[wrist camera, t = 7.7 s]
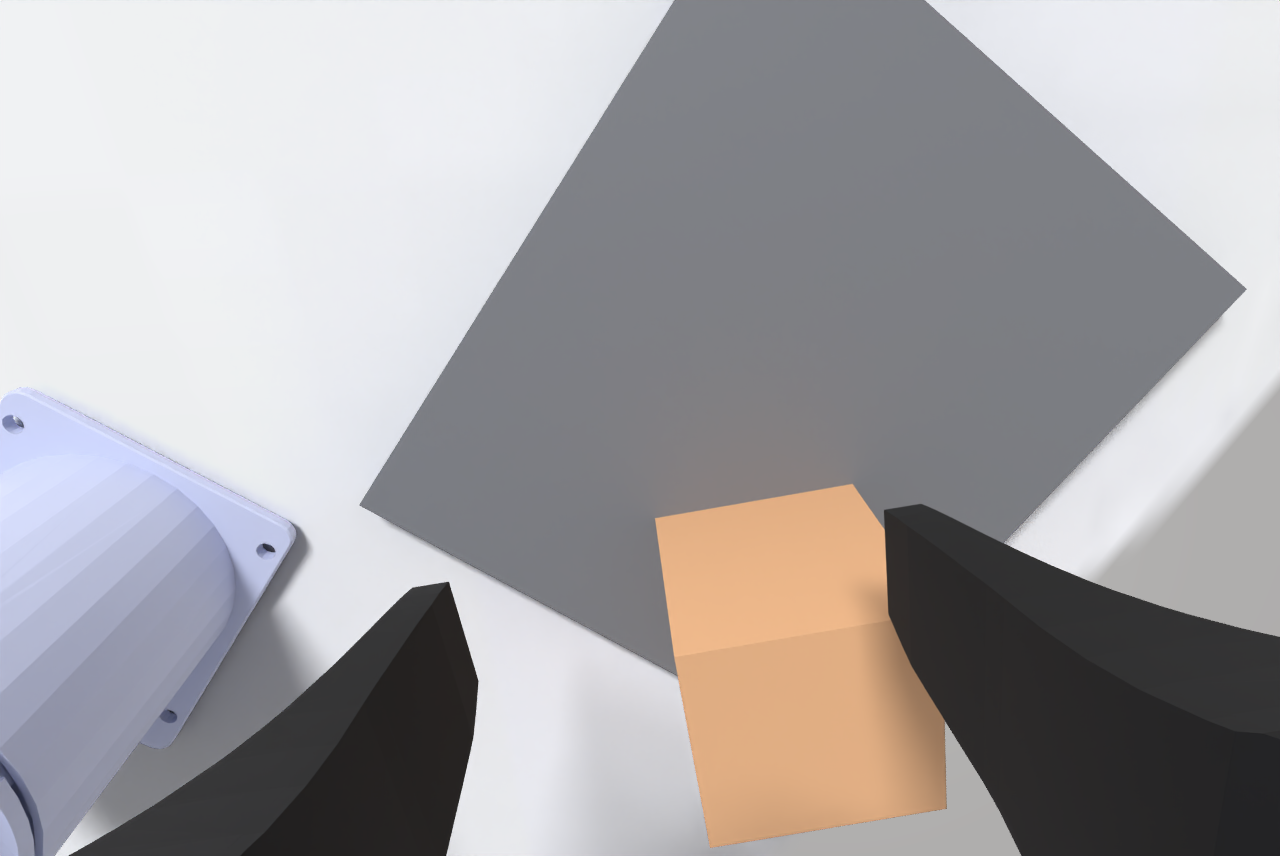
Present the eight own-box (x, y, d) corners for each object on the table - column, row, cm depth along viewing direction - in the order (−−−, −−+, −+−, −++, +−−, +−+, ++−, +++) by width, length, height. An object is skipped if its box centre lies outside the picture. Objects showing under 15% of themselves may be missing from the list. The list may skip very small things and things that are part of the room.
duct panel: (801, 723, 26) (845, 855, 21) (369, 489, 22) (306, 587, 17) (1217, 281, 21) (1395, 327, 16) (754, -129, 17) (815, -226, 12)
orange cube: (863, 645, 23) (946, 808, 18) (684, 676, 23) (710, 848, 18) (852, 484, 21) (942, 611, 16) (654, 518, 21) (674, 656, 16)
